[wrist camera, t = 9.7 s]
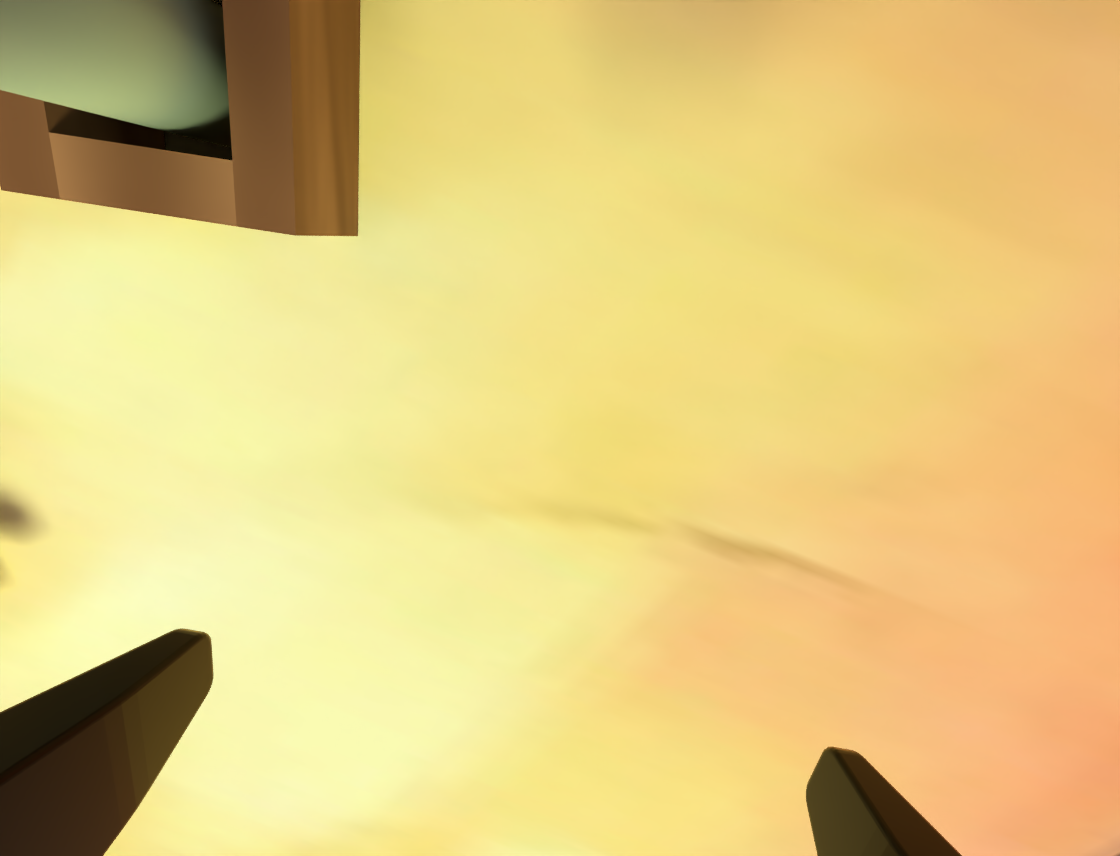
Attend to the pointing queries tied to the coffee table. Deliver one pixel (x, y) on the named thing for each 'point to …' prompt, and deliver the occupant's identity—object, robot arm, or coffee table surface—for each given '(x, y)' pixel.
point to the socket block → (255, 123)
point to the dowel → (122, 61)
